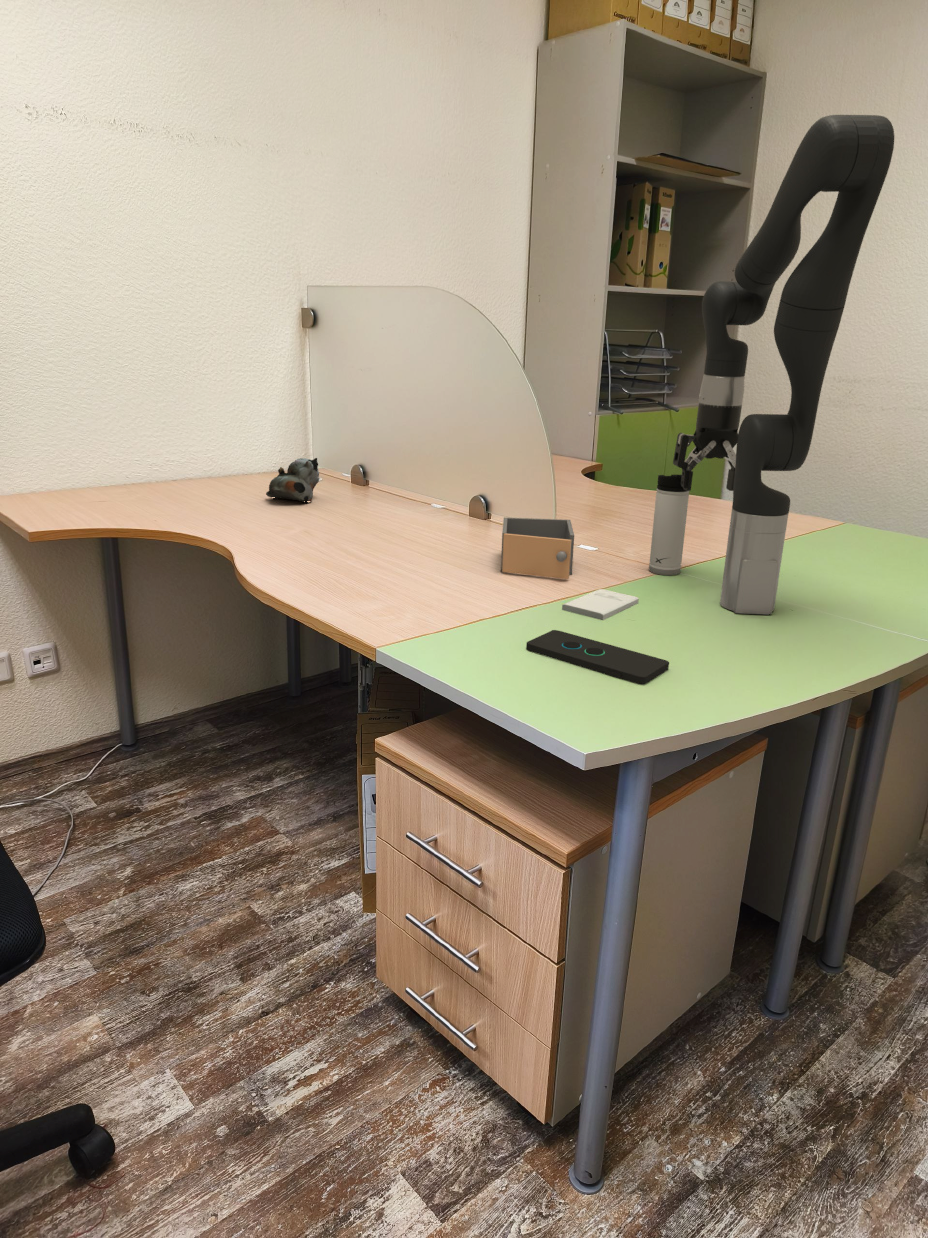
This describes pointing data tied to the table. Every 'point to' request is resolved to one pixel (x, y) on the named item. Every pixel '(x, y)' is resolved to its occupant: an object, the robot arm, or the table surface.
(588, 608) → the external hard drive
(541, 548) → the side door
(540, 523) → the storage box
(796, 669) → the table surface
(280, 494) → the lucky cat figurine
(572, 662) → the smart home device
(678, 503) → the travel mug
